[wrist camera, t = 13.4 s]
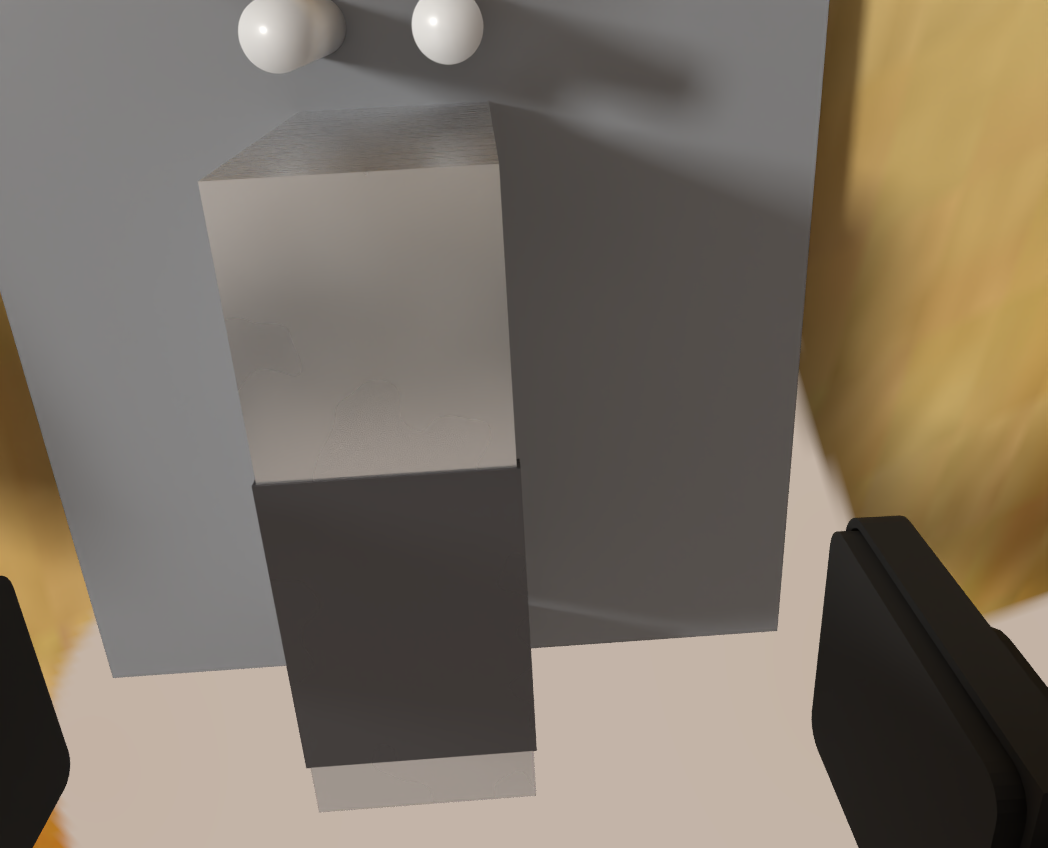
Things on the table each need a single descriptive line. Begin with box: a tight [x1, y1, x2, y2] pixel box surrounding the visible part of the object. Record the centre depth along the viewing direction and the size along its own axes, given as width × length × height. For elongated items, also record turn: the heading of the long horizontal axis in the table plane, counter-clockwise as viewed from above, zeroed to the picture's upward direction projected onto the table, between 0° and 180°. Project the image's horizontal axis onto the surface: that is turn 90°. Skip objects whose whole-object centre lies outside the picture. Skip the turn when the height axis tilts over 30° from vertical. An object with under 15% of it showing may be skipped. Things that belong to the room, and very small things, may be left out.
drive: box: [198, 101, 537, 812], centre depth 16 cm, size 4×10×7 cm, turn 3°
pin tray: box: [0, 0, 829, 678], centre depth 18 cm, size 16×15×5 cm
